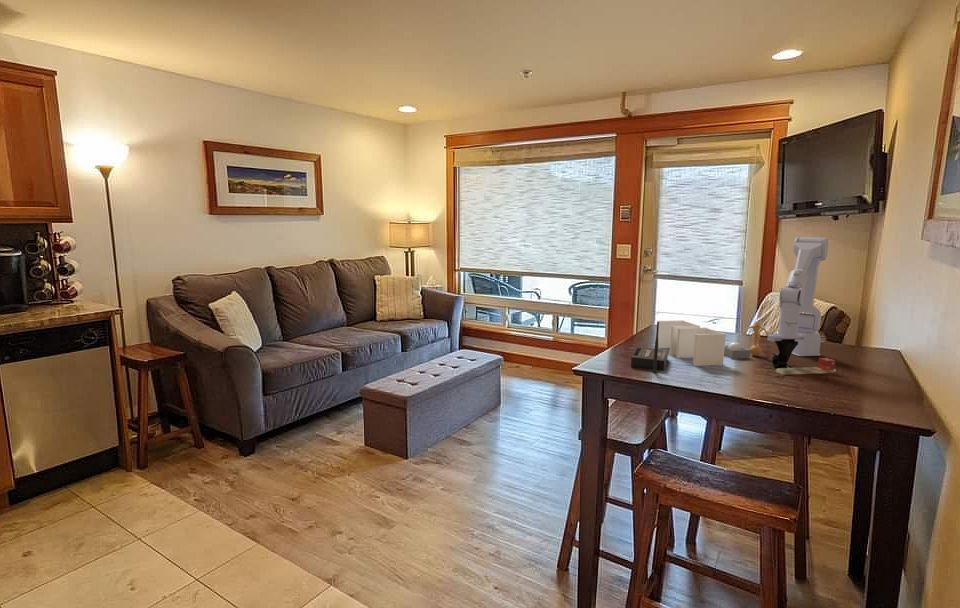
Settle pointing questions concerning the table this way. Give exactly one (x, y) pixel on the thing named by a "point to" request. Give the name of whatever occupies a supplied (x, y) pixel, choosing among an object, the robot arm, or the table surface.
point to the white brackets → (692, 342)
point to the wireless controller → (650, 357)
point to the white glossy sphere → (735, 346)
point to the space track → (811, 368)
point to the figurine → (755, 348)
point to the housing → (736, 353)
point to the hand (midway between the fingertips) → (784, 360)
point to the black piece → (778, 361)
